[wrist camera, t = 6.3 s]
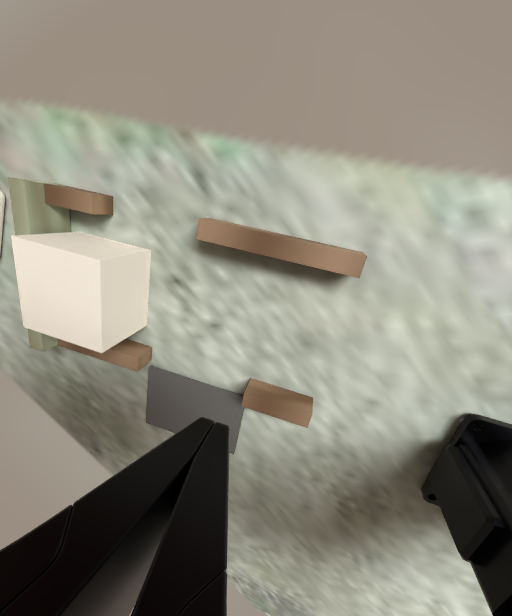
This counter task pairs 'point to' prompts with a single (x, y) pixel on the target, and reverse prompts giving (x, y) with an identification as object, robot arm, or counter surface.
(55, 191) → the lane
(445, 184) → the counter surface
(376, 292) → the counter surface
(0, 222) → the jar
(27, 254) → the block
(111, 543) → the robot arm
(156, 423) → the mat
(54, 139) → the counter surface
